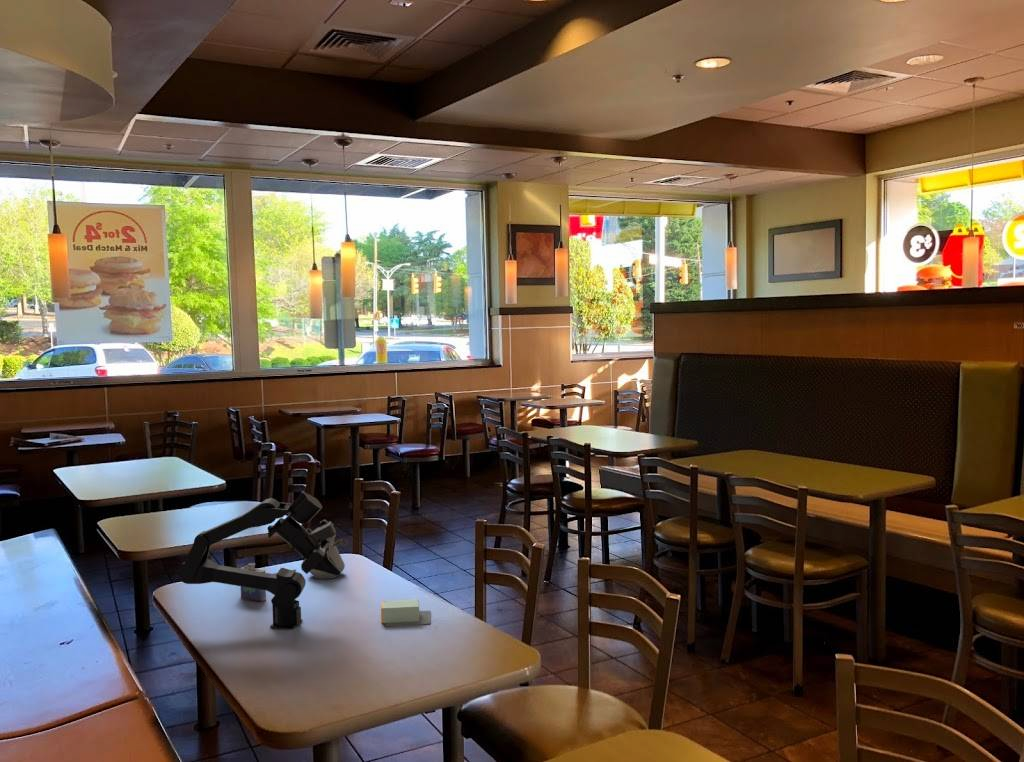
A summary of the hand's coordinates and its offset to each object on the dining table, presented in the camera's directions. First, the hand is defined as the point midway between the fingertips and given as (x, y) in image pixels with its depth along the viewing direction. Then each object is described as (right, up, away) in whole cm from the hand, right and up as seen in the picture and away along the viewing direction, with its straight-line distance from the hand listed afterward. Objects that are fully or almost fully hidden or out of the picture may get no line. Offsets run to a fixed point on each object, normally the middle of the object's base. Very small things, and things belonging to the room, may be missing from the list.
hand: (339, 574), depth 229 cm
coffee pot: (-10, -11, +40) cm, 42 cm away
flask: (-30, -12, +21) cm, 39 cm away
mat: (+18, -13, +3) cm, 22 cm away
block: (+11, -11, +2) cm, 15 cm away
